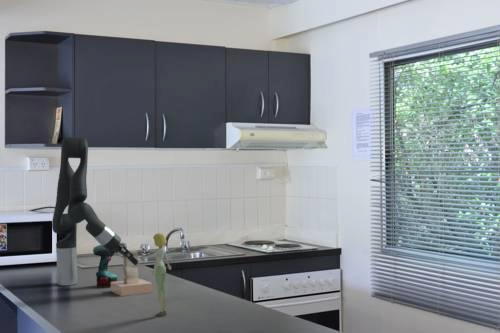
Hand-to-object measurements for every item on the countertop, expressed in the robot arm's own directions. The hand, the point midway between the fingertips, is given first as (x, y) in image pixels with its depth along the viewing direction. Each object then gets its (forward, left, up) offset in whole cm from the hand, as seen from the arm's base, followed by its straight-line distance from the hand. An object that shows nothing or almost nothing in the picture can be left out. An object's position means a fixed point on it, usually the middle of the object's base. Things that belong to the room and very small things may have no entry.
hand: (133, 262), depth 305 cm
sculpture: (+52, -8, -13) cm, 54 cm away
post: (0, -1, -9) cm, 9 cm away
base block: (0, -1, -13) cm, 13 cm away
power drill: (-19, -4, -13) cm, 23 cm away
